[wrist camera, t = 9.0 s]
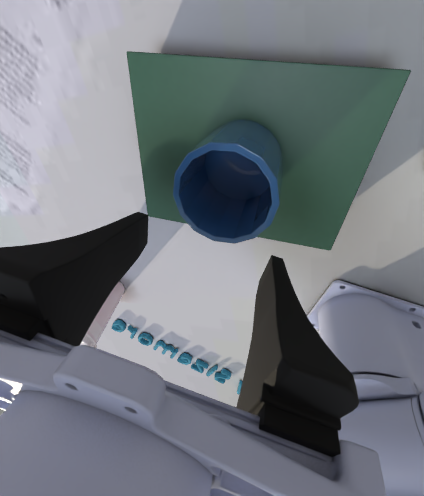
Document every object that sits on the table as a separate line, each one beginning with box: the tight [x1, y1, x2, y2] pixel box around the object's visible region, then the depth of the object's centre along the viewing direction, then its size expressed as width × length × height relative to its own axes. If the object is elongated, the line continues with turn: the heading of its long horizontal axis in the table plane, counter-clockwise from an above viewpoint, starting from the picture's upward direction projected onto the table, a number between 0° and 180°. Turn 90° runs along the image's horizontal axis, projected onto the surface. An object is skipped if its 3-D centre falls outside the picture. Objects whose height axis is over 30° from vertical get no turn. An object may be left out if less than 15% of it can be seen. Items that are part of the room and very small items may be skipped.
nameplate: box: [112, 320, 242, 394], centre depth 43 cm, size 37×1×5 cm
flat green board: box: [127, 52, 411, 250], centre depth 18 cm, size 15×11×4 cm
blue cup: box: [173, 120, 283, 243], centre depth 15 cm, size 6×6×6 cm
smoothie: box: [80, 281, 125, 348], centre depth 31 cm, size 6×6×14 cm
